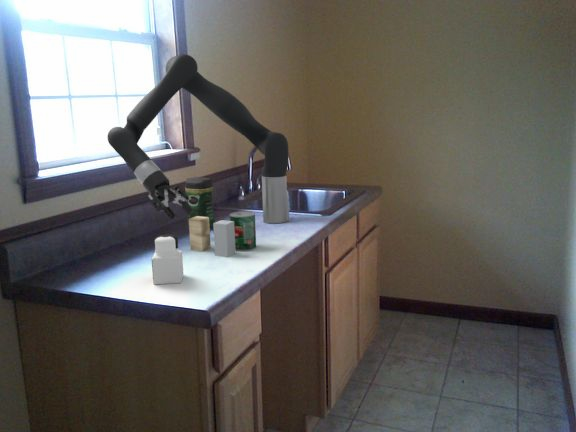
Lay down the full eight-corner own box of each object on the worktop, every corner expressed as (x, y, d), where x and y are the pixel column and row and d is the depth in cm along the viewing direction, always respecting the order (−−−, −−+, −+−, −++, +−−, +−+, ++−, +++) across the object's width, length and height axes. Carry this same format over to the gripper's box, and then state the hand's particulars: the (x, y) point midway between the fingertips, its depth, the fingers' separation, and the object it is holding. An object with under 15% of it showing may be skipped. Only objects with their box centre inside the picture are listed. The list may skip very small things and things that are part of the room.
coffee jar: (218, 227, 211) (216, 176, 207) (205, 231, 205) (202, 179, 201) (197, 224, 216) (194, 175, 212) (184, 229, 209) (180, 178, 205)
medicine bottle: (157, 276, 157) (153, 233, 154) (183, 274, 158) (180, 232, 155) (153, 284, 150) (149, 240, 147) (181, 283, 151) (178, 238, 148)
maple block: (199, 246, 186) (197, 216, 184) (210, 247, 184) (209, 217, 182) (190, 250, 182) (188, 219, 180) (202, 251, 180) (200, 220, 178)
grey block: (223, 251, 179) (221, 220, 177) (235, 253, 177) (234, 221, 175) (214, 255, 175) (213, 223, 173) (227, 257, 173) (225, 224, 171)
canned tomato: (261, 246, 184) (259, 212, 182) (247, 252, 178) (246, 217, 175) (240, 243, 188) (238, 210, 186) (226, 249, 181) (224, 215, 179)
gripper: (142, 172, 178) (174, 212, 175) (171, 166, 190) (202, 203, 188) (130, 188, 182) (162, 227, 179) (160, 181, 194) (190, 218, 191)
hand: (182, 215), depth 183 cm, fingers open, 8 cm apart
